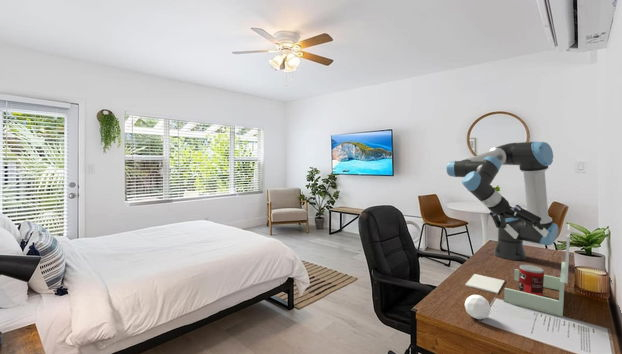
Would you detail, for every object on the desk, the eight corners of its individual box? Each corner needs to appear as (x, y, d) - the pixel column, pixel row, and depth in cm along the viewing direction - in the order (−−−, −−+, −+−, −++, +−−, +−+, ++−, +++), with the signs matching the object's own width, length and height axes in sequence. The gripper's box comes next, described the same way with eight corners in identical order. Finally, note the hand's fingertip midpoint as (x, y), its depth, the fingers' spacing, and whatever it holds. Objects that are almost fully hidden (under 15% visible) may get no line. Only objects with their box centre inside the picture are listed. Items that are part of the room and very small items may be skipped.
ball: (473, 327, 102) (461, 310, 101) (470, 308, 109) (459, 292, 108) (497, 322, 98) (484, 304, 97) (492, 303, 105) (480, 286, 104)
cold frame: (514, 279, 136) (517, 218, 134) (566, 291, 124) (570, 224, 123) (504, 301, 115) (506, 229, 113) (565, 317, 103) (569, 237, 101)
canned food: (520, 288, 126) (521, 263, 126) (544, 294, 121) (545, 268, 120) (516, 294, 121) (517, 267, 120) (541, 301, 115) (542, 273, 115)
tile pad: (474, 275, 141) (474, 273, 141) (504, 281, 133) (504, 280, 133) (465, 285, 129) (465, 284, 129) (497, 293, 121) (497, 292, 121)
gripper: (468, 211, 138) (502, 243, 138) (516, 203, 114) (557, 240, 114) (476, 200, 140) (509, 231, 140) (524, 189, 117) (564, 226, 117)
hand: (530, 235), depth 127 cm, fingers open, 13 cm apart
